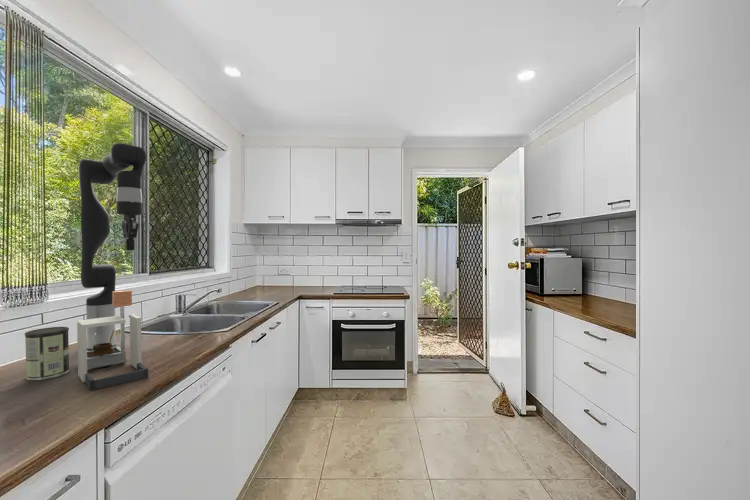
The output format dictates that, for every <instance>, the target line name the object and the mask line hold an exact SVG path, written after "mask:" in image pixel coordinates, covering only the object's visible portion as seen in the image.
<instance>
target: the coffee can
mask: <svg viewBox="0 0 750 500" xmlns="http://www.w3.org/2000/svg"><path fill="white" fill-rule="evenodd" d="M69 330H70V329H69V327H68V326H51V327H42V328H37V329H32V330H29V331H26V332H24V336H25V337H24V338H25V340H24V341H25V371H26V375H25V376H26V378H25V379H26V381H27V380H28V381H42V380H49V379H53V378H57V377H60V376H63V375H66V374H68V373H69V372H70V362H69V361H70V353H69V352H70V351H69V350H70V348H69V347H70V346H69Z"/></svg>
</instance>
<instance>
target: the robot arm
mask: <svg viewBox="0 0 750 500" xmlns="http://www.w3.org/2000/svg"><path fill="white" fill-rule="evenodd" d="M147 157H148V156H147V152H146V151H145V149H144V148H143V147H140V146H137V145H131V144H126V143H121V142H117V143H113V144H112V145H111V148H110V152H109V153H108V154H106V155H105V156H104V158H103V160H96V159H95V160H94V159H90V158H82V159H80V160H79V163H78V169H77V170H78V181H79V190H80V191H79V193H80V232H81V264H80V269H81V270H80V283H81V285H82V287H83V288H85V289H93V288H94V289H95V288H103V290H101V291H100V292H98V293H96V294H94V295H91V296H88V297H87V298H86V300H85V304H86V306H85V308H86V311H85V312H86V320H87V319H95V318H104V317H112V316H116V307H113V306H112V291H116V278H117V277H116V276H117V273H116V268H115V266H114V265H113V264H111V263H110V264H109V263H108V264H107V263H106V264H93V261H94V258H95V255H96V253H97V252H98V250H99V249H100V247H101V246H102V244H103V243H104V242H105V241H106V239H107V238H108V236H109V235H110V232H111V222H110V221H111V220H110V219H111V217H110V214H109V212H108V211H107V210H106V208H105V207H104V205H103V204H102V203H101V202H100V200H99V199H98V198H97V196H96V193H95V192H94V190H93V185H92V184H98V185H110V184H111V183H113V182H114V181H115V179H116V180H117V181H116V183H117V185H116V188H117V189H116V214H117V215H118V216H123V219H122V221H121V230H122V234H123V238H124V239H125V250H126V251H134V250H135V240H136V238H137V235H138V230H139V226H140V224H139V221H138V220H137V216H138V217H139V216H142V215H143V193H142V177H143V171H144V168H145V164H146V161H147ZM130 167H132V168H131V170H128V168H130ZM113 329H114V333H113V337H112V339H111V343H112V347H115V345H116V324H113V325H106V326H98V327H90V328H87V350H93V346H94V344H95V345H96V344H100V343H109V342H110V338H111V335H112V332H113ZM95 333H97V334H95ZM93 334H94V337H93ZM98 334H99V335H98ZM96 335H98V336H96ZM99 336H100V337H99ZM98 338H99V339H98ZM97 339H98V340H97ZM93 342H94V343H93Z"/></svg>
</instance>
